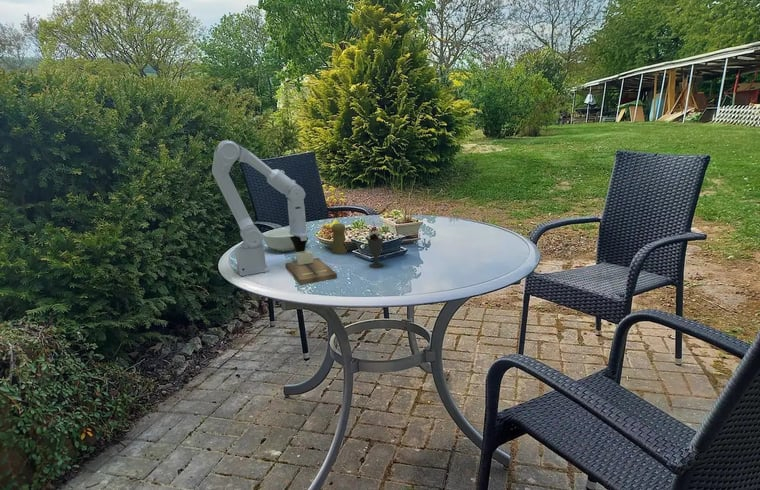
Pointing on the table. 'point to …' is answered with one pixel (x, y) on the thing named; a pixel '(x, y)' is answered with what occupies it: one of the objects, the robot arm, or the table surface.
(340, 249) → the olive brown pepper mill
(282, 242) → the cereal bowl
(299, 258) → the cream block
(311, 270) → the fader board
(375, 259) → the sundae
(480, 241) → the table surface
